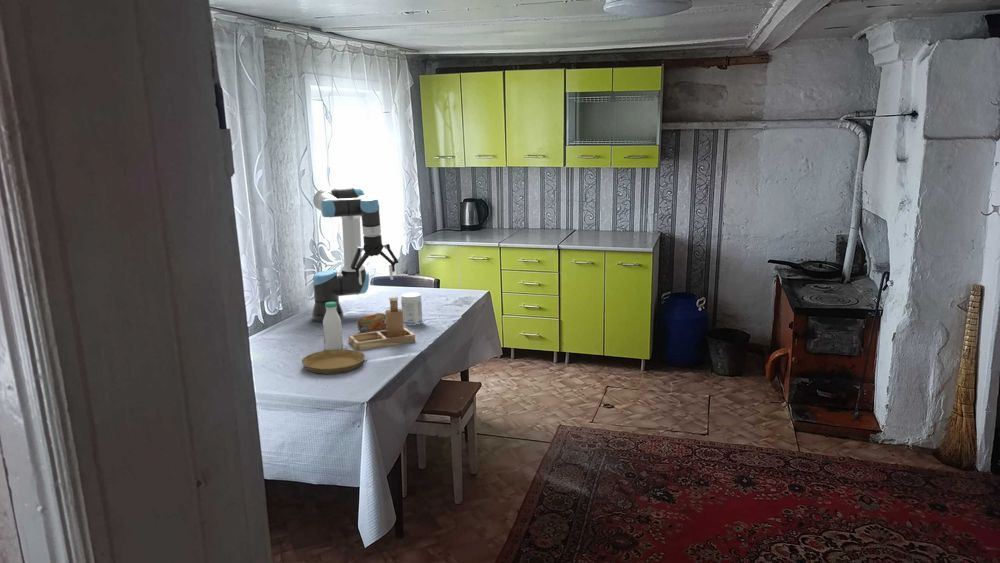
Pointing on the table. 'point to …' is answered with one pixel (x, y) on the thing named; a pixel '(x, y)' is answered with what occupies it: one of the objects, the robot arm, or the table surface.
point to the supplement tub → (411, 308)
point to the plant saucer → (333, 361)
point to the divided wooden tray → (379, 339)
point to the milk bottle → (332, 328)
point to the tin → (372, 322)
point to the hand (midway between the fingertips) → (376, 281)
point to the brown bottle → (394, 319)
